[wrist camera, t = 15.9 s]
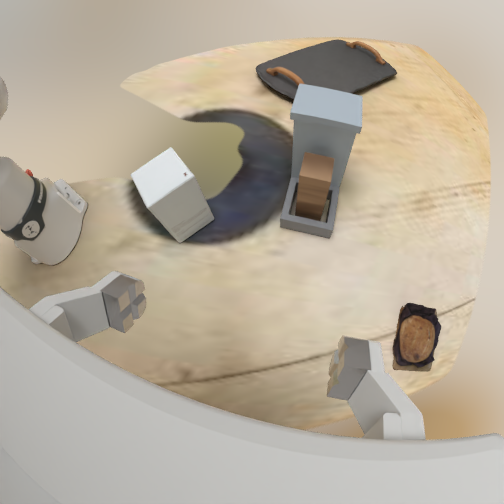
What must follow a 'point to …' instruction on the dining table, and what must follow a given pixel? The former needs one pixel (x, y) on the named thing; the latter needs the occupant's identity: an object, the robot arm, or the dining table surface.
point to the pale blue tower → (321, 146)
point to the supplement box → (173, 195)
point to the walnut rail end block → (313, 185)
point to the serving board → (326, 68)
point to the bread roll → (415, 338)
